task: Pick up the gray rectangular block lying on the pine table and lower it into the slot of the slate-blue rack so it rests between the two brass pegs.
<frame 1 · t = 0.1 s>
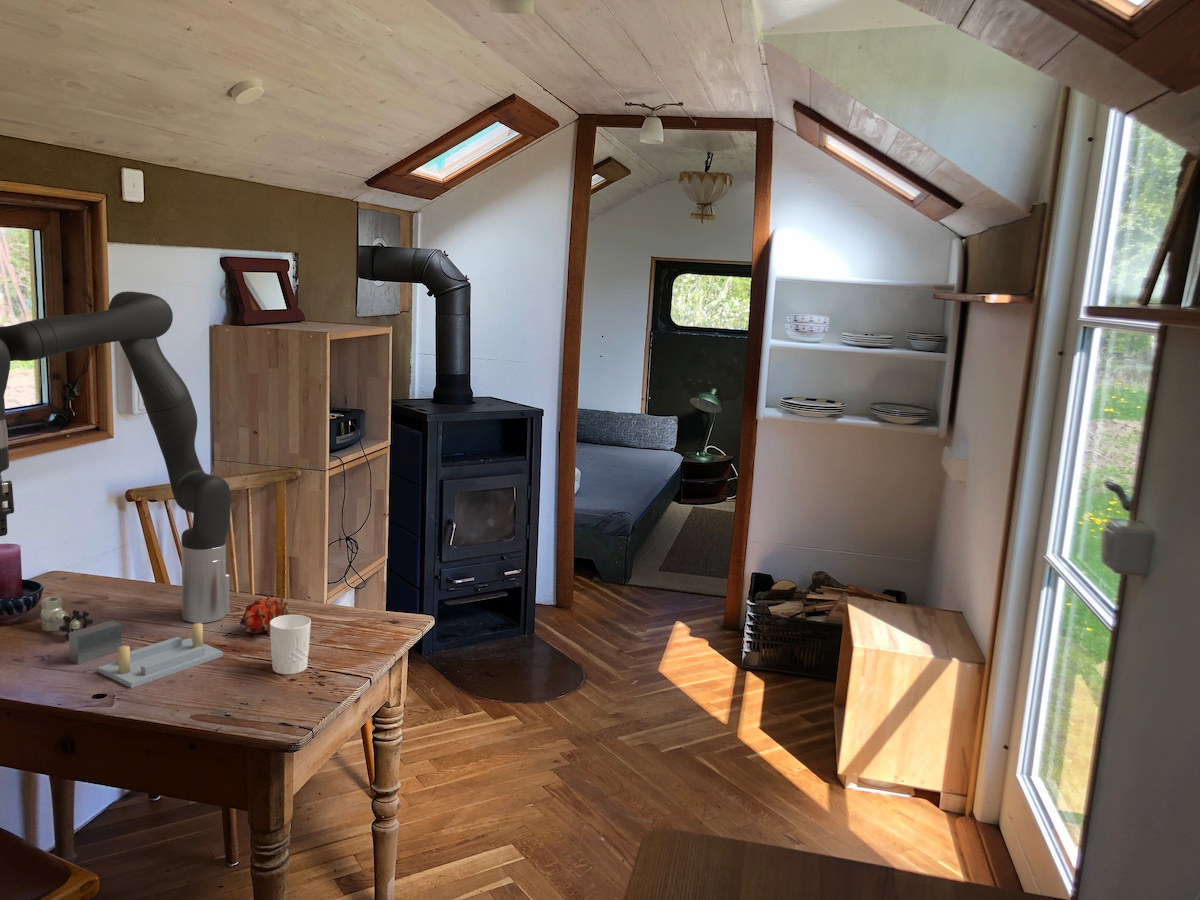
rack: (162, 663, 188), on the table
gray rectangular block: (96, 656, 190), on the table
valve: (62, 633, 200), on the table
dragon fruit: (264, 632, 208), on the table
white cup: (289, 668, 191), on the table
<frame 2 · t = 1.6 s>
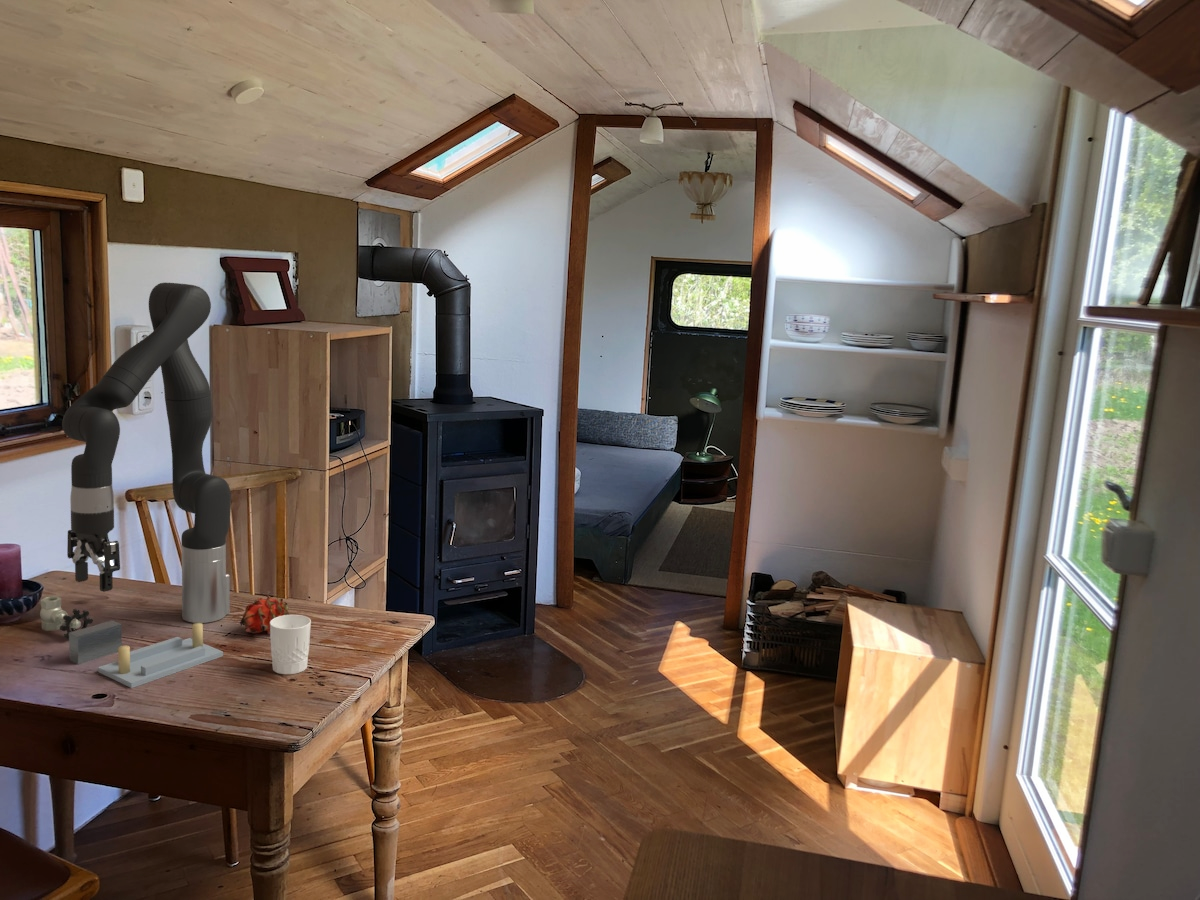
hand: (93, 585, 187), 15 cm above the table, fingers open, 8 cm apart
nothing on the table moved.
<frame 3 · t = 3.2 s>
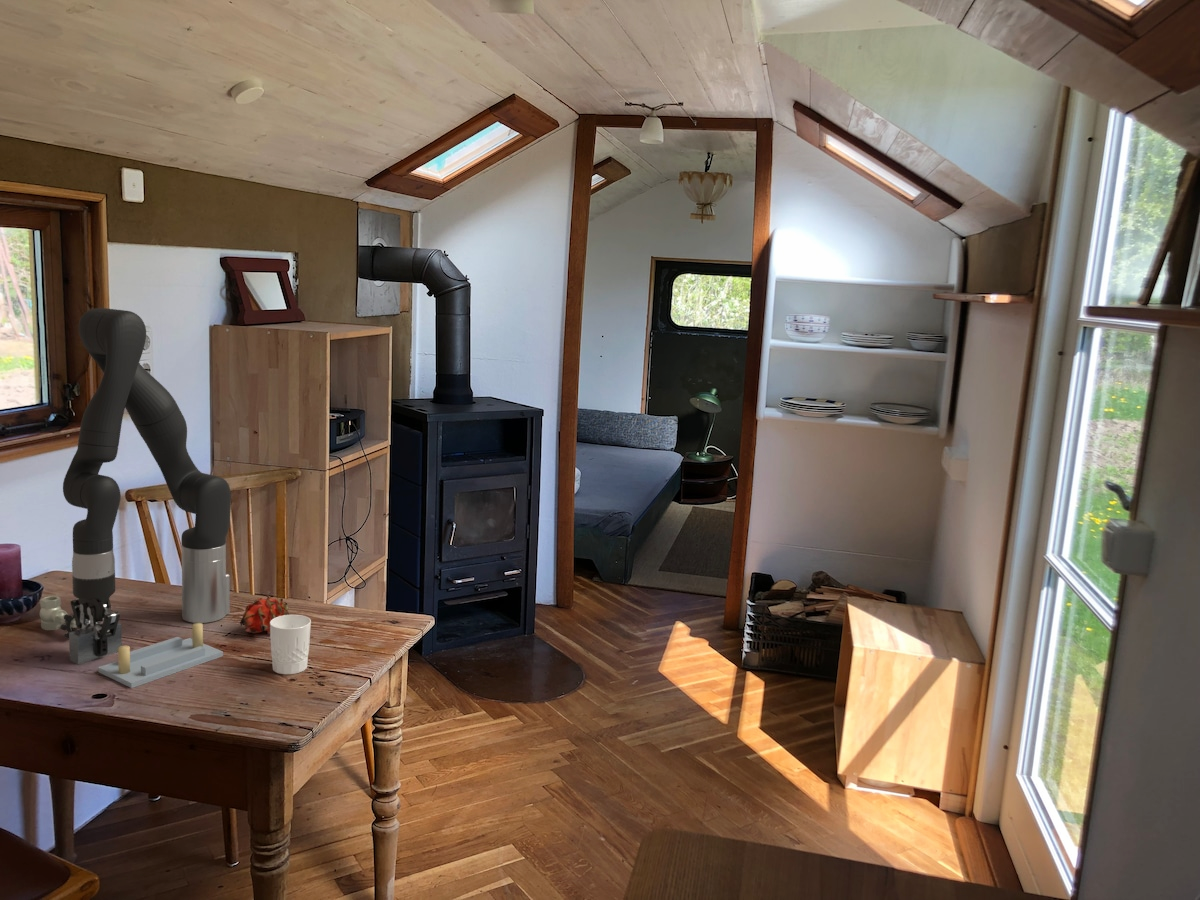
hand: (96, 652, 190), 1 cm above the table, fingers closed on gray rectangular block, 3 cm apart
gray rectangular block: (96, 656, 190), on the table, touching gripper
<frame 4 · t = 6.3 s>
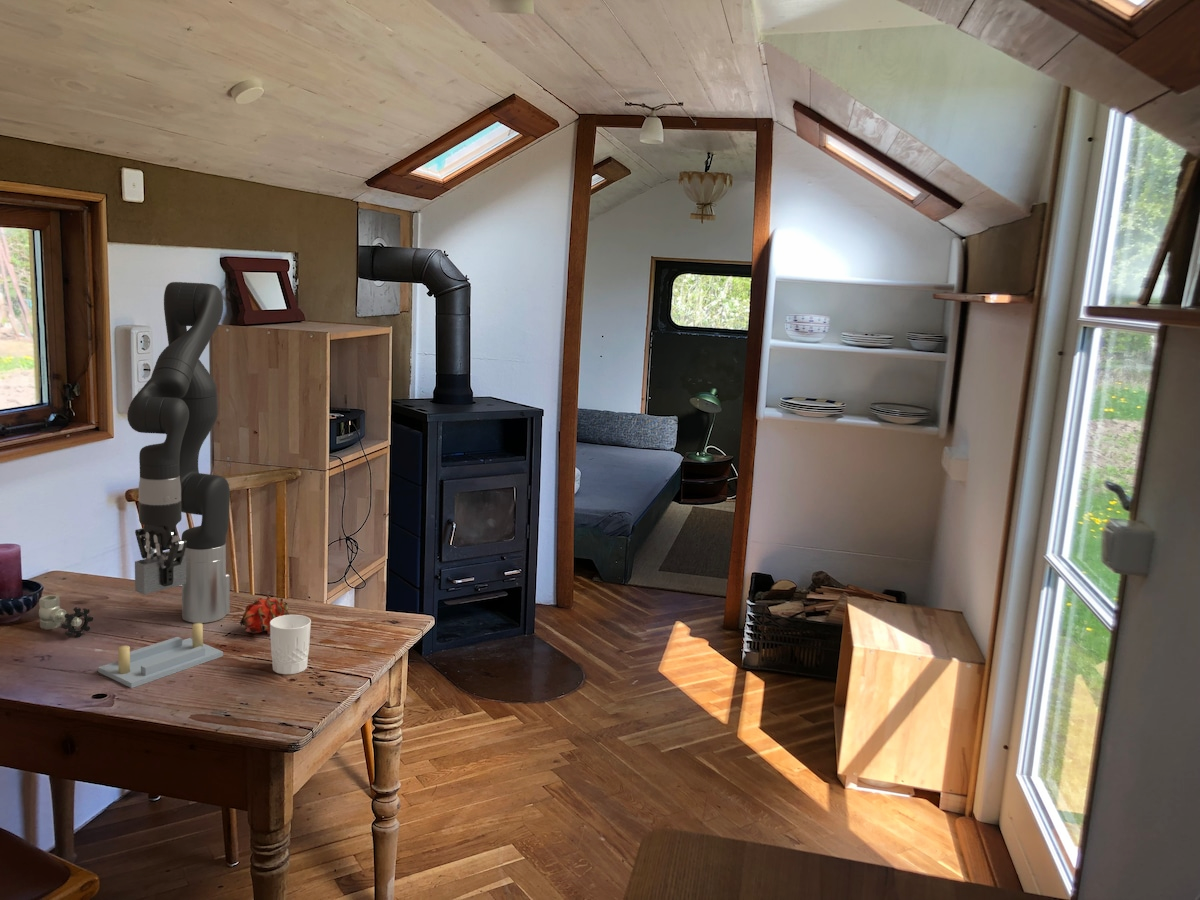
hand: (161, 582, 185), 17 cm above the table, fingers closed on gray rectangular block, 3 cm apart
gray rectangular block: (161, 587, 186), point 16 cm above the table, touching gripper
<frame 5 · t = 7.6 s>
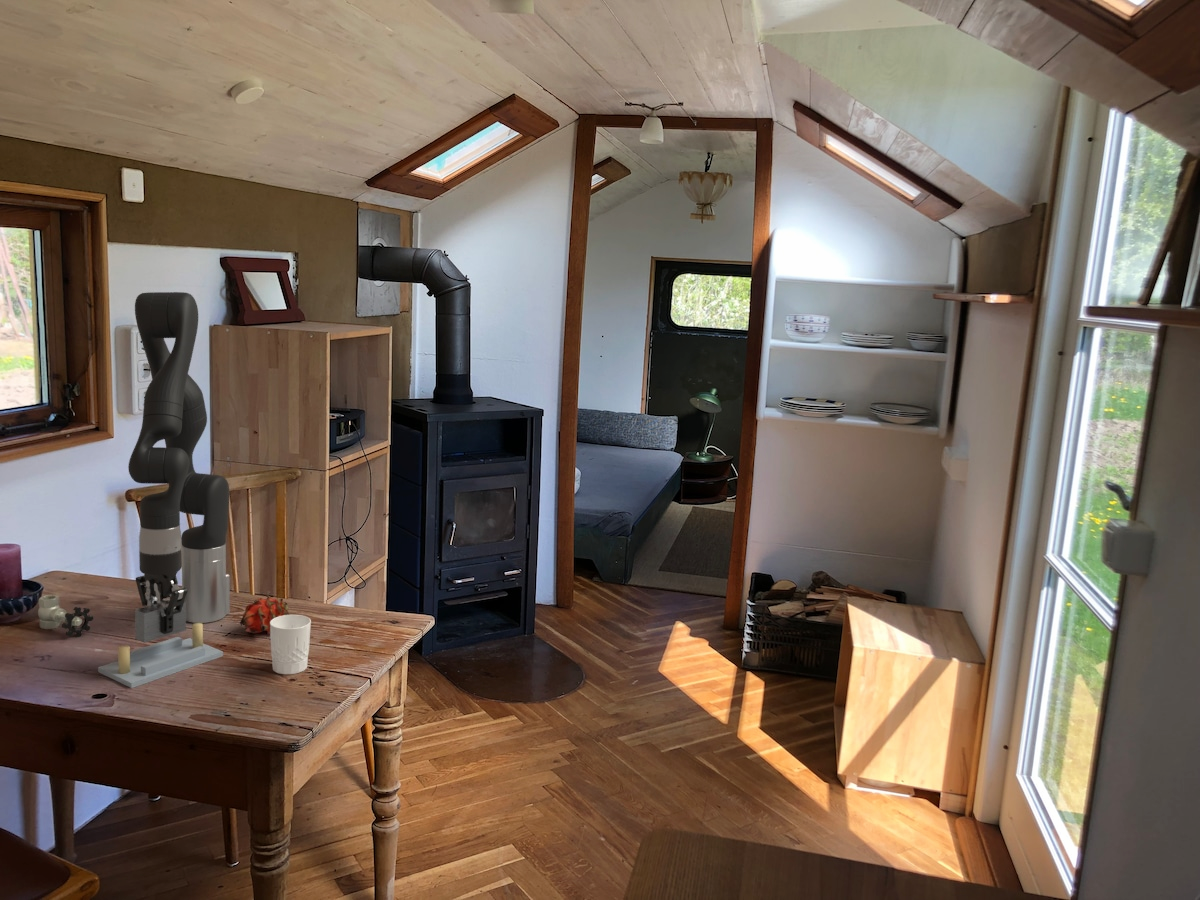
hand: (161, 629, 187), 7 cm above the table, fingers closed on gray rectangular block, 3 cm apart
gray rectangular block: (161, 634, 187), point 6 cm above the table, touching gripper
when the fingers open (3 cm above the table, at t = 8.9 s): gray rectangular block stays where it is, resting on rack.
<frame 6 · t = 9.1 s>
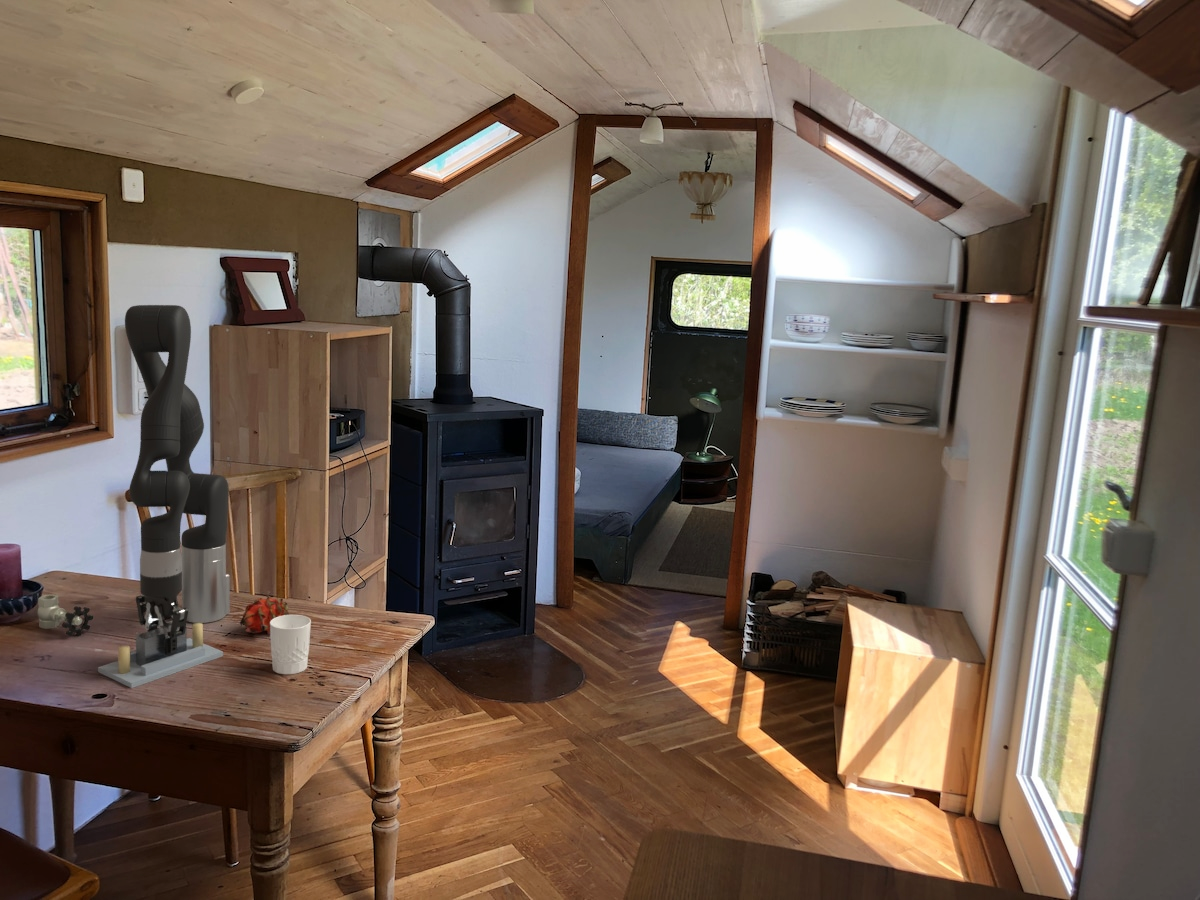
hand: (162, 650, 188), 3 cm above the table, fingers open, 5 cm apart
gray rectangular block: (161, 659, 188), point 1 cm above the table, touching rack
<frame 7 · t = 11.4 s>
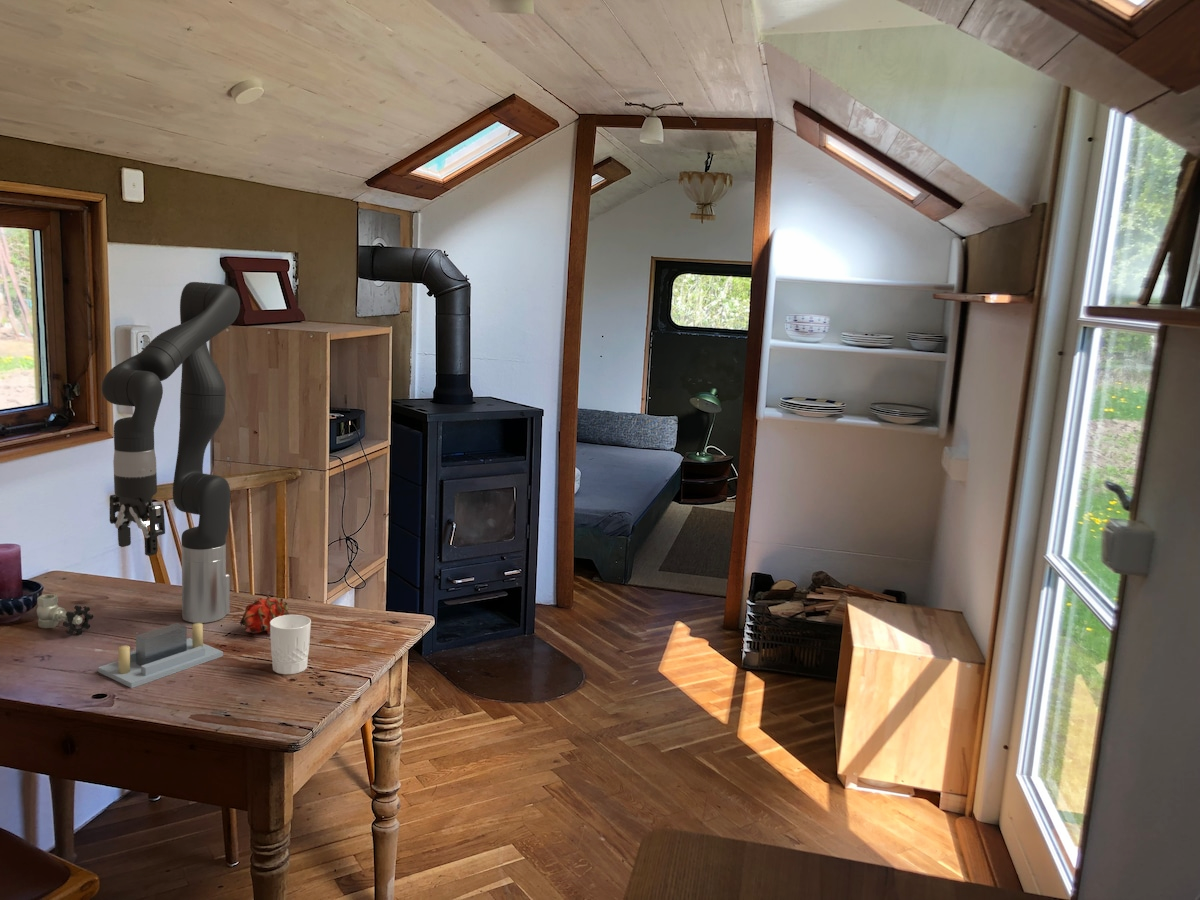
hand: (137, 550, 187), 23 cm above the table, fingers open, 8 cm apart
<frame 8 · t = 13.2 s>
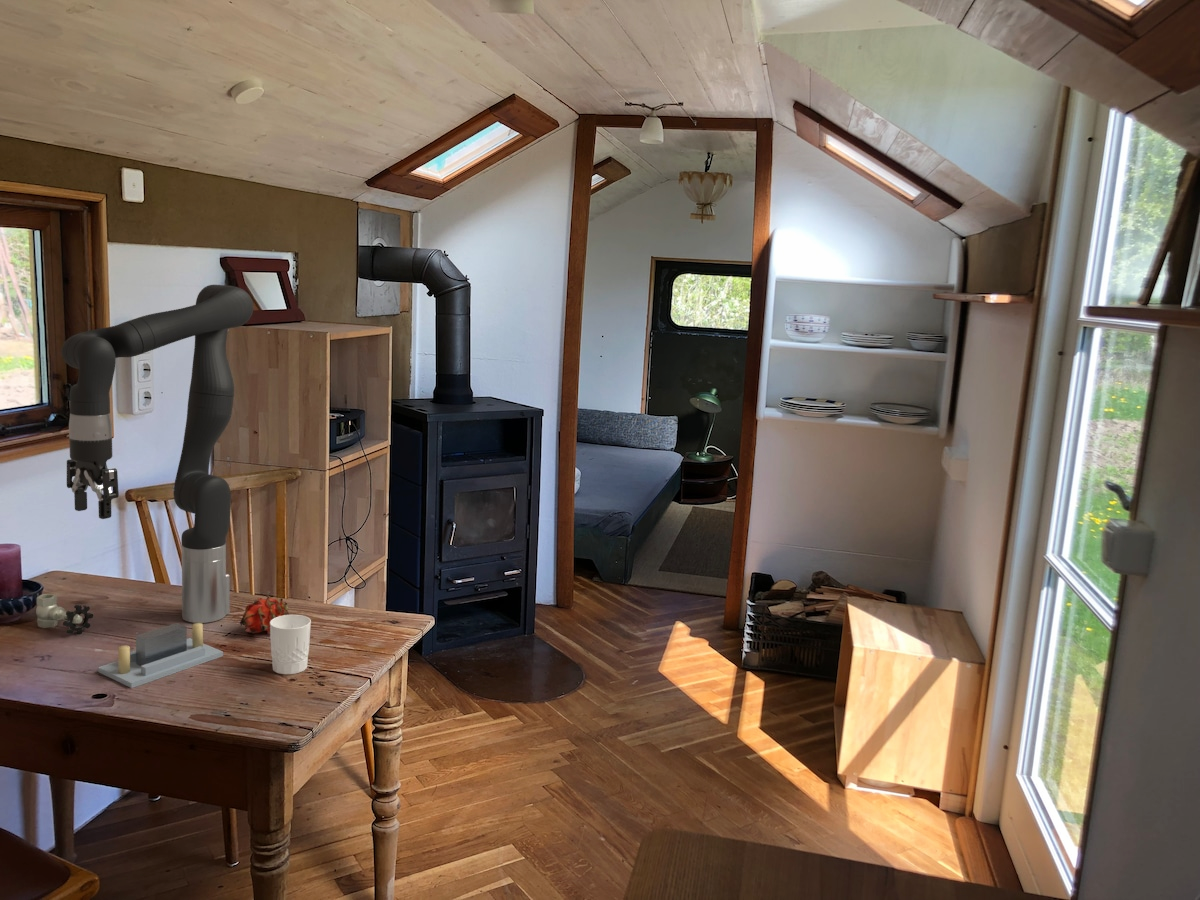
hand: (92, 514, 190), 28 cm above the table, fingers open, 8 cm apart
at the end: gray rectangular block 0.1 cm off-centre on the rack, point 1.0 cm above the rack's base; gray rectangular block tilted 0°; the gripper is holding nothing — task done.
